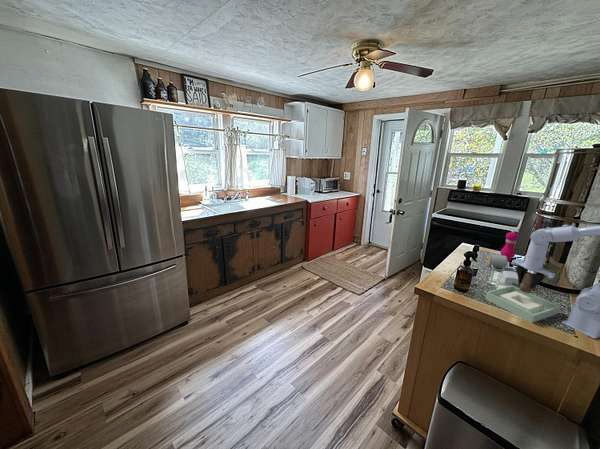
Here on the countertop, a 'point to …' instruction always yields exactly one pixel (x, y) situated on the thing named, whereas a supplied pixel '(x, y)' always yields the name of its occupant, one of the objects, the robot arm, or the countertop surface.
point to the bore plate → (523, 302)
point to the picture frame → (548, 309)
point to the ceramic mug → (497, 262)
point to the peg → (526, 282)
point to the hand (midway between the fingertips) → (526, 285)
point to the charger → (510, 278)
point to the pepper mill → (509, 245)
